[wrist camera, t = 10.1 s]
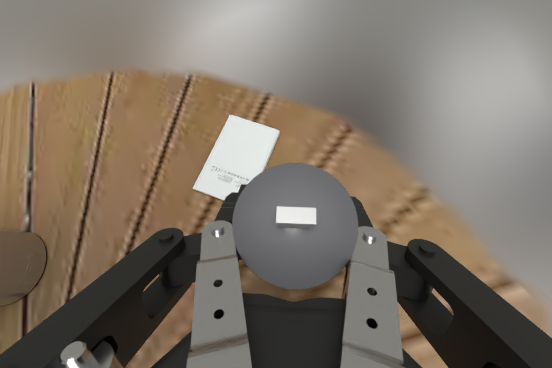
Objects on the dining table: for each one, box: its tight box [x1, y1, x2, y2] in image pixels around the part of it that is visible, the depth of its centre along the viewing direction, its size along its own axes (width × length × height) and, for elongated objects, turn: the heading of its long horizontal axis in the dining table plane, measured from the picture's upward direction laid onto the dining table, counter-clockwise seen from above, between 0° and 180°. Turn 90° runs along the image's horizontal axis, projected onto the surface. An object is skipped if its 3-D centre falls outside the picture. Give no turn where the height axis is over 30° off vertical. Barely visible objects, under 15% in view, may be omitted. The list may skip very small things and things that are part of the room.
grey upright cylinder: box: [232, 163, 358, 289], centre depth 12 cm, size 4×4×10 cm
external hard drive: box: [193, 115, 280, 201], centre depth 34 cm, size 2×8×12 cm
